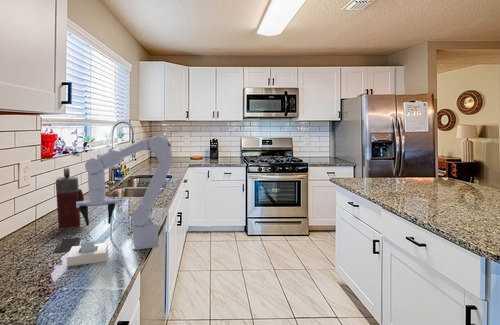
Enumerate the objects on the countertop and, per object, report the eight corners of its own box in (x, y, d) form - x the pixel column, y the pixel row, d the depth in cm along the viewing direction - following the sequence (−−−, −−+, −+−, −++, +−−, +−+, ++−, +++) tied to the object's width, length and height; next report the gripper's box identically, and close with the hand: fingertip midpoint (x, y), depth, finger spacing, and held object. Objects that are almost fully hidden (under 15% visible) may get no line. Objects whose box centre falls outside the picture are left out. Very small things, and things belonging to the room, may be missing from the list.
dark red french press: (85, 226, 164) (82, 168, 161) (58, 229, 159) (54, 169, 157) (85, 221, 172) (82, 166, 170) (60, 224, 167) (56, 167, 165)
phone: (53, 250, 127) (60, 239, 141) (54, 253, 127) (60, 242, 141) (77, 248, 130) (81, 237, 144) (77, 251, 130) (81, 239, 144)
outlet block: (107, 250, 129) (107, 242, 129) (105, 261, 118) (105, 252, 118) (72, 254, 125) (72, 246, 125) (67, 266, 114) (66, 257, 114)
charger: (95, 254, 124) (94, 238, 124) (94, 258, 120) (93, 241, 120) (83, 256, 123) (82, 239, 122) (81, 260, 119) (80, 242, 118)
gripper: (74, 192, 124) (76, 228, 125) (116, 189, 129) (118, 224, 130) (76, 189, 131) (78, 224, 132) (117, 186, 136) (118, 220, 137)
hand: (98, 224), depth 131 cm, fingers open, 7 cm apart
